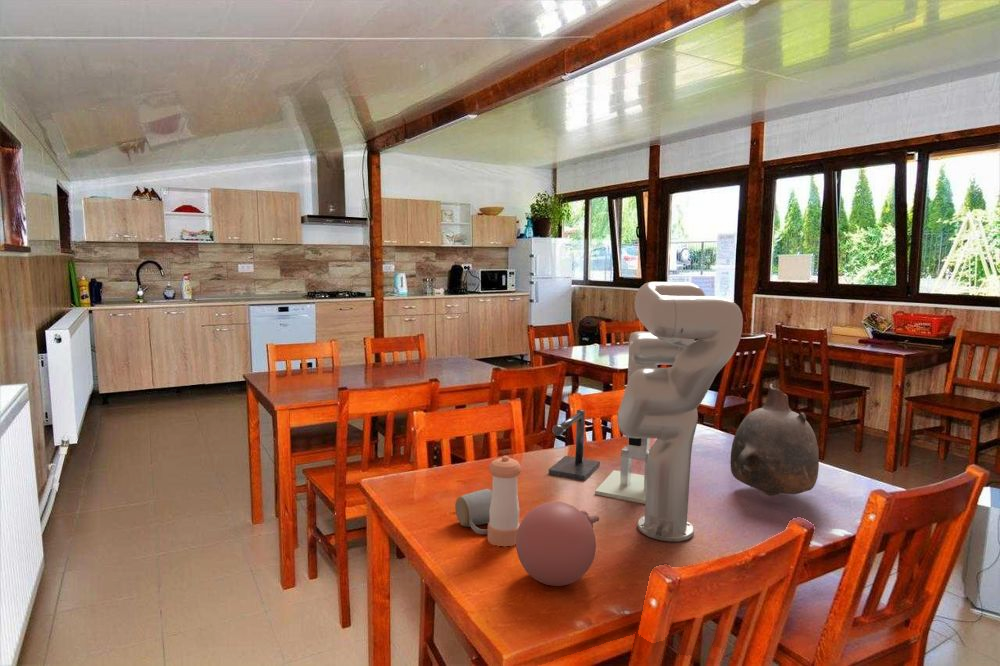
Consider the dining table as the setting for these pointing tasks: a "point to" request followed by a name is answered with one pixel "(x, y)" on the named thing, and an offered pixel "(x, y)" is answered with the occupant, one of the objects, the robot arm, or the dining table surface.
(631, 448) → the stepped metal block
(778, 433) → the jug
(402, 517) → the dining table surface
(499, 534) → the salt shaker
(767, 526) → the dining table surface
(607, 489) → the mat
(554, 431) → the stand
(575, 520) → the balloon
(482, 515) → the ceramic mug
